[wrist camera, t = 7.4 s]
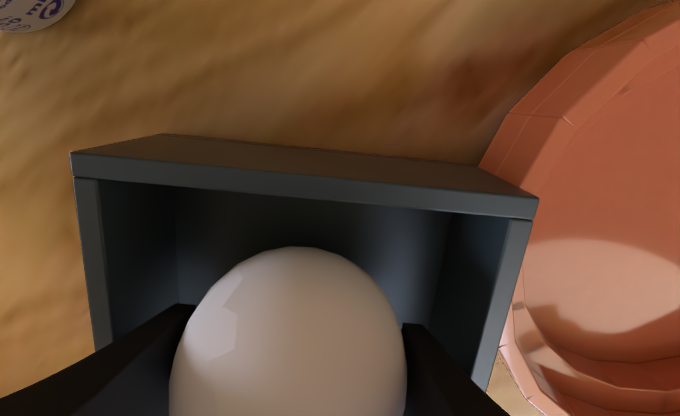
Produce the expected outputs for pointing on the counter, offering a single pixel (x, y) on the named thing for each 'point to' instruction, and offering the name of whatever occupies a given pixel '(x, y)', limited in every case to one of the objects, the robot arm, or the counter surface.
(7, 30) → the energy drink
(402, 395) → the egg
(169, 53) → the counter surface
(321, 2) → the counter surface
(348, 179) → the bin
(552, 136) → the bowl
